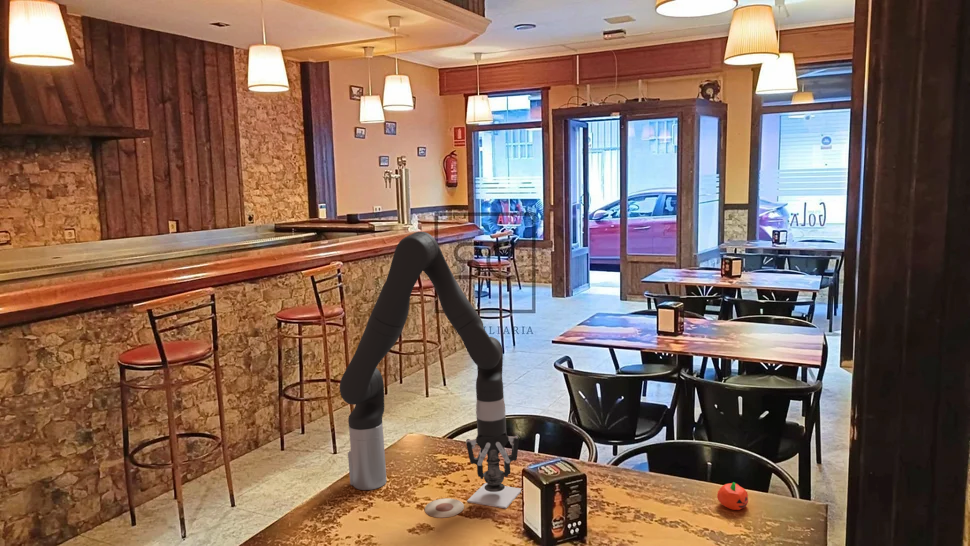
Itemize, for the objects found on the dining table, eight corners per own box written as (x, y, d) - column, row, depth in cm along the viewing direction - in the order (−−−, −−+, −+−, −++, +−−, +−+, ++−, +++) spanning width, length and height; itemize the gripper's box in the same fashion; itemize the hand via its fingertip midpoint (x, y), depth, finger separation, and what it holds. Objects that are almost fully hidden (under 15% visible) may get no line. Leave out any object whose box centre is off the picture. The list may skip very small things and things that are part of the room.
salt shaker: (503, 492, 173) (501, 448, 172) (481, 491, 174) (479, 447, 173) (507, 482, 179) (505, 439, 177) (485, 482, 180) (483, 438, 179)
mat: (467, 501, 175) (467, 500, 175) (485, 484, 184) (485, 482, 184) (506, 508, 170) (506, 507, 170) (522, 490, 180) (522, 488, 180)
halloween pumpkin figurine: (748, 503, 168) (752, 479, 166) (744, 518, 161) (748, 493, 159) (718, 495, 171) (722, 471, 170) (713, 508, 164) (716, 484, 163)
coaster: (417, 513, 170) (417, 513, 169) (436, 496, 178) (436, 495, 178) (452, 520, 165) (452, 519, 165) (470, 502, 174) (470, 501, 174)
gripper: (464, 421, 170) (467, 485, 172) (520, 417, 171) (523, 480, 173) (462, 412, 178) (465, 473, 180) (516, 408, 179) (519, 468, 181)
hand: (494, 476), depth 176 cm, fingers closed on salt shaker, 6 cm apart
